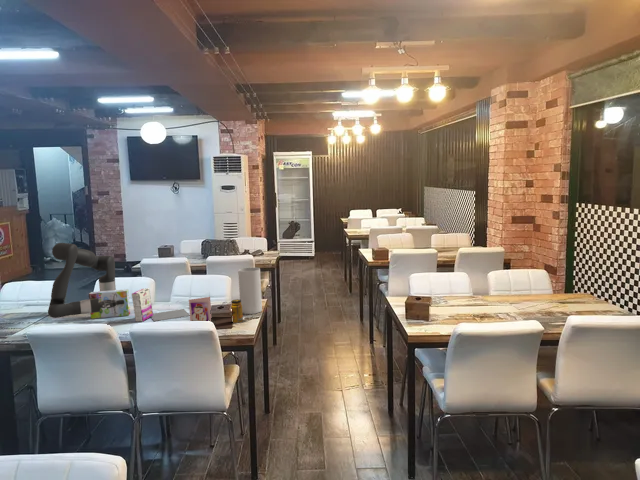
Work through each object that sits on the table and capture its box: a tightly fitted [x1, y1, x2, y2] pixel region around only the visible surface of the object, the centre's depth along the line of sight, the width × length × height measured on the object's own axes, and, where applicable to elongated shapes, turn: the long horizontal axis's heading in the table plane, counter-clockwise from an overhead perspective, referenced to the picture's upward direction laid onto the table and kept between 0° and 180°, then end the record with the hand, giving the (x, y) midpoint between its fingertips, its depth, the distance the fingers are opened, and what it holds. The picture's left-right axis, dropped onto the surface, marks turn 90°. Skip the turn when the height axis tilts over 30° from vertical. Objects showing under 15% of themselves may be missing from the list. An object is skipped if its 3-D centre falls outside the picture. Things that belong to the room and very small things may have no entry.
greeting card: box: [188, 296, 212, 322], centre depth 267 cm, size 11×7×15 cm, turn 82°
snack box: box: [88, 288, 131, 320], centre depth 295 cm, size 21×6×15 cm, turn 100°
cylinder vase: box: [237, 267, 263, 315], centre depth 292 cm, size 12×12×25 cm
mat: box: [150, 308, 190, 322], centre depth 292 cm, size 20×17×1 cm
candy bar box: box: [131, 287, 154, 323], centre depth 285 cm, size 11×5×16 cm, turn 169°
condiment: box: [230, 298, 249, 325], centre depth 274 cm, size 7×8×12 cm
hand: (123, 301), depth 280 cm, fingers closed
